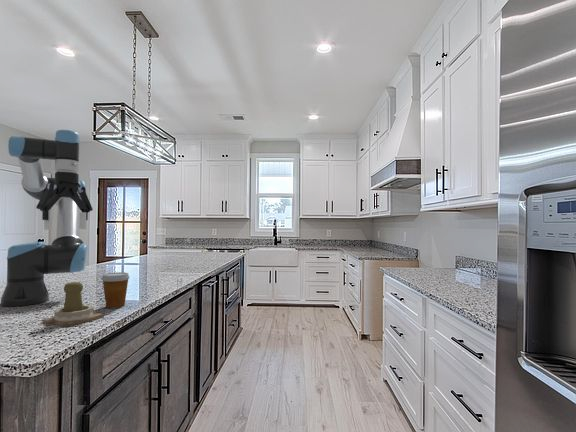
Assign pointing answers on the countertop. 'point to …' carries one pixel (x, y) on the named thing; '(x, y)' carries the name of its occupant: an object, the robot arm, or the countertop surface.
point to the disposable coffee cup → (115, 288)
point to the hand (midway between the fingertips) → (66, 229)
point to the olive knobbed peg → (73, 297)
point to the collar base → (72, 323)
